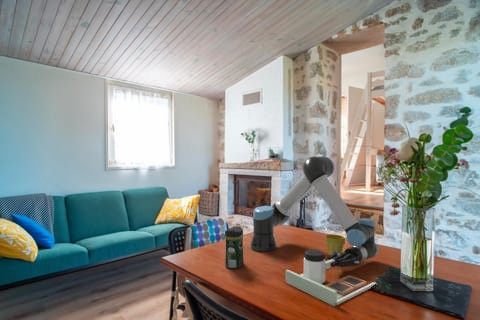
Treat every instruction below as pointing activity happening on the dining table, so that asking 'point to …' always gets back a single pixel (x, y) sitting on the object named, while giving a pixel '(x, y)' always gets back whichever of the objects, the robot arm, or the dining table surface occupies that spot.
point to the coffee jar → (234, 247)
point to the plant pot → (334, 243)
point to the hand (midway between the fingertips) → (324, 266)
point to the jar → (314, 266)
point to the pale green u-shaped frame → (328, 287)
